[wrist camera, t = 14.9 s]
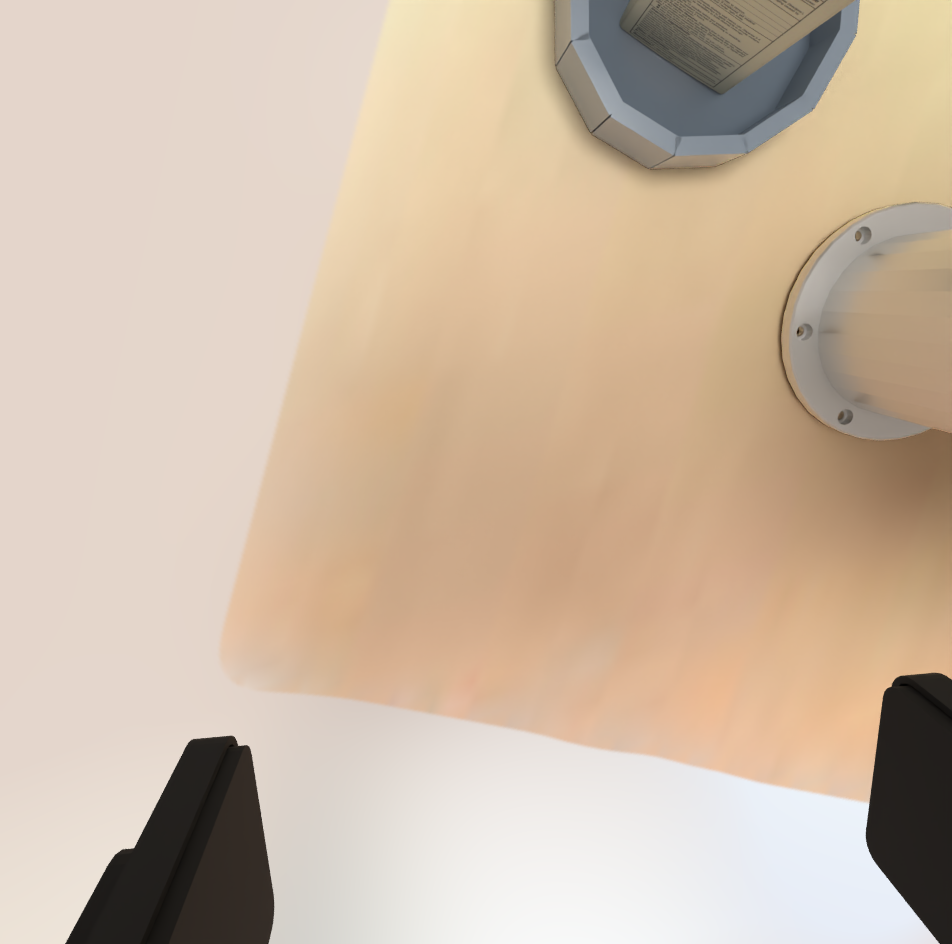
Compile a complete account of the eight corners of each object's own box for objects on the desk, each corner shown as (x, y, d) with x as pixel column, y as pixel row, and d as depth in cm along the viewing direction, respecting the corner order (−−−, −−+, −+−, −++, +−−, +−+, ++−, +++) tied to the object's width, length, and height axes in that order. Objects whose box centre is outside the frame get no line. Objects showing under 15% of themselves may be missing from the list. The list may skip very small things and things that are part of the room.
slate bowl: (827, -139, 32) (876, -190, 28) (805, 163, 35) (846, 149, 32) (552, -137, 31) (569, -190, 27) (556, 172, 34) (571, 159, 31)
